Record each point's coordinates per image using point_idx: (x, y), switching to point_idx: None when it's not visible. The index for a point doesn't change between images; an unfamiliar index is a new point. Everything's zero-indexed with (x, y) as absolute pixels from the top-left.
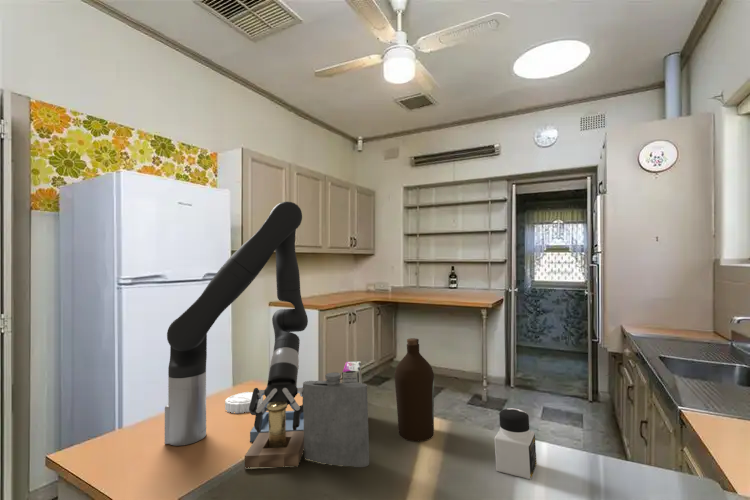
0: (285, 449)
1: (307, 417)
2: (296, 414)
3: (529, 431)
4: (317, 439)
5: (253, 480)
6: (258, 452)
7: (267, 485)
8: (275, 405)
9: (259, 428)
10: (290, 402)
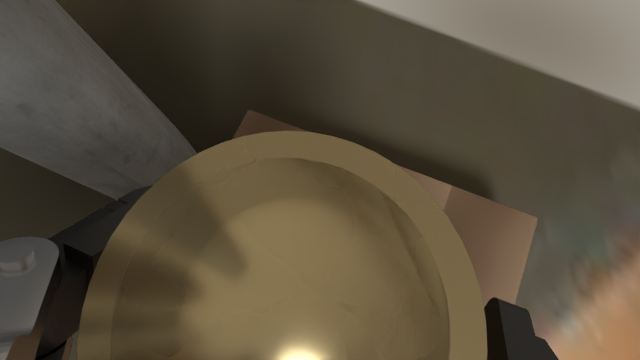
0: None
1: (60, 22)
2: (95, 230)
3: None
4: (119, 68)
5: (461, 123)
6: (453, 221)
7: (408, 66)
8: (316, 269)
9: (487, 312)
10: (12, 357)
